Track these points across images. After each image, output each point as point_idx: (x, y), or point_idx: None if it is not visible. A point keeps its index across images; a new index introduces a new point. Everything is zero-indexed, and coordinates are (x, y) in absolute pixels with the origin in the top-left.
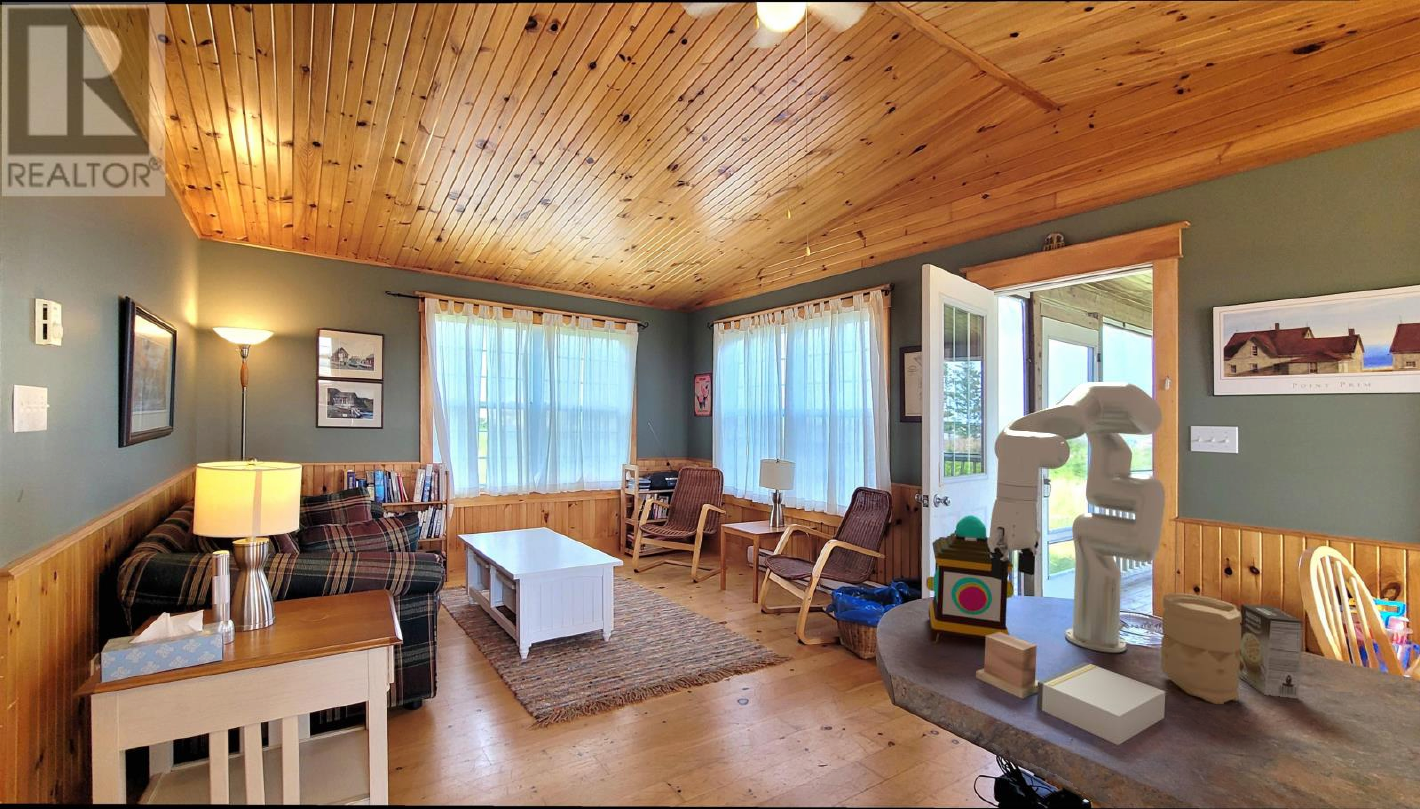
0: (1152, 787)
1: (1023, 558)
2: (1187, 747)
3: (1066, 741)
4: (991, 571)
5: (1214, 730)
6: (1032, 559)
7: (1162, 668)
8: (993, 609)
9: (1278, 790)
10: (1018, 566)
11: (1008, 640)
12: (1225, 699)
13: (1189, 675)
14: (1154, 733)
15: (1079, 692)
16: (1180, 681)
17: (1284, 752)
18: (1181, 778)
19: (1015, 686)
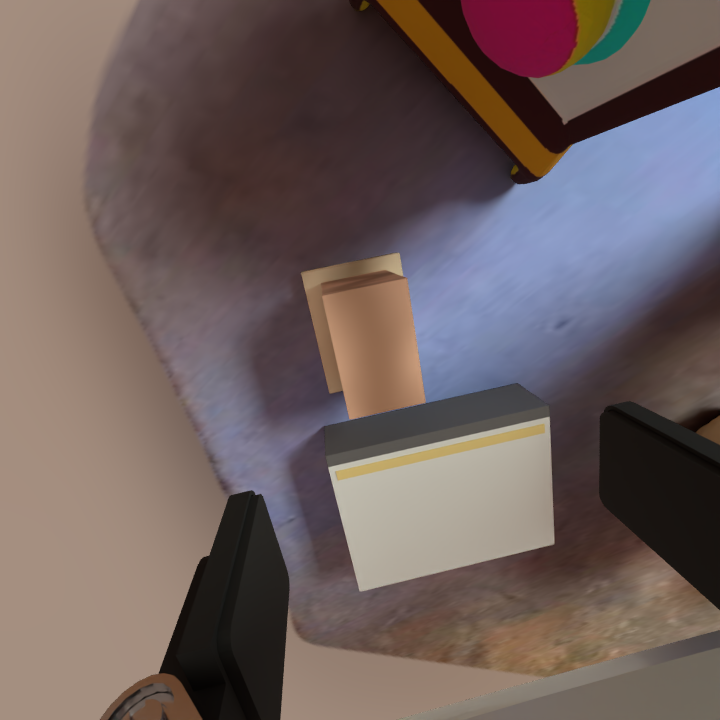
0: (295, 624)
1: (710, 517)
2: (457, 572)
3: (275, 523)
4: (222, 524)
5: (556, 549)
6: (714, 601)
7: (711, 431)
8: (581, 84)
9: (456, 653)
10: (630, 428)
11: (369, 349)
12: None
13: None
14: None
15: (375, 512)
16: None
17: (576, 604)
18: (359, 618)
19: (333, 371)
